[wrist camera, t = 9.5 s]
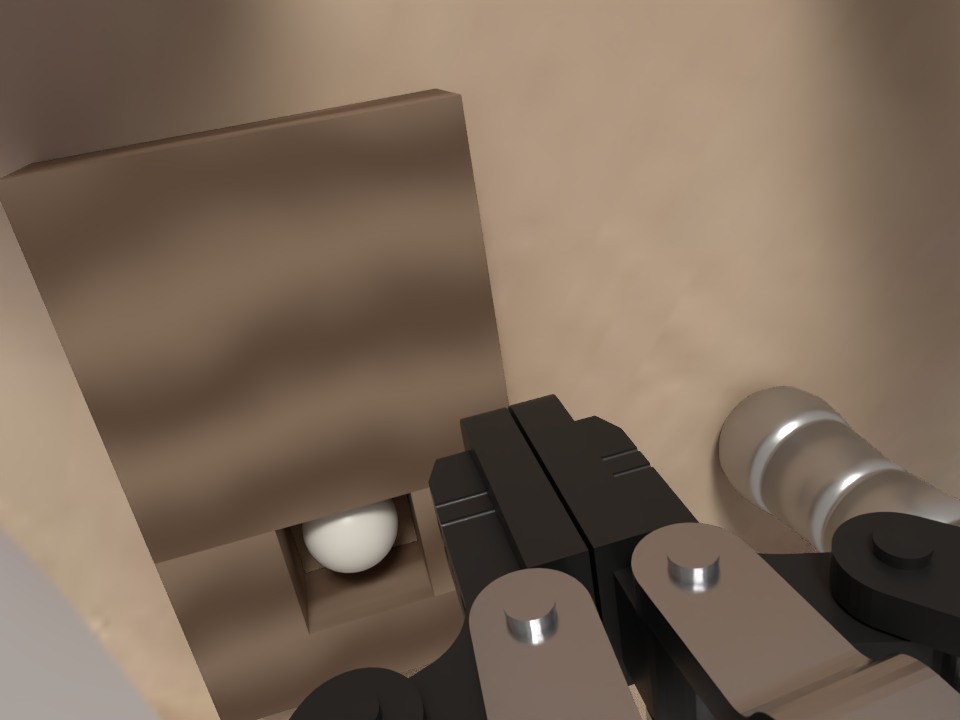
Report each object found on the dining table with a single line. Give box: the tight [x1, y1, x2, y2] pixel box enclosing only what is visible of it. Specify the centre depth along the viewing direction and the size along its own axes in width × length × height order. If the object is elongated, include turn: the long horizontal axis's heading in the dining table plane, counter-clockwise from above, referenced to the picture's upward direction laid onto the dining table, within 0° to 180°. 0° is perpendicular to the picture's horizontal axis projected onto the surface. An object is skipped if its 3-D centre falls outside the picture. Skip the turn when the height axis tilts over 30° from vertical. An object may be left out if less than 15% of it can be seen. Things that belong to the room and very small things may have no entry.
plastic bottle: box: [719, 386, 960, 553], centre depth 34 cm, size 6×7×20 cm
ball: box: [302, 498, 398, 573], centre depth 36 cm, size 4×4×4 cm
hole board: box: [0, 89, 509, 720], centre depth 33 cm, size 26×16×4 cm, turn 9°
